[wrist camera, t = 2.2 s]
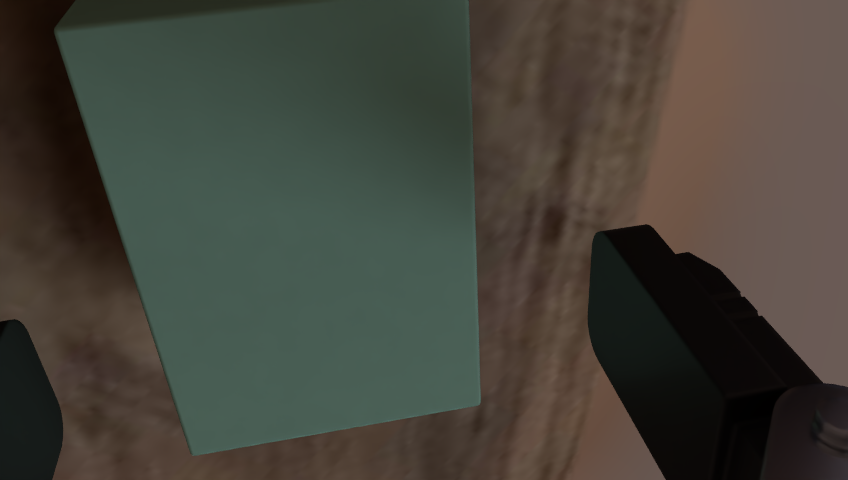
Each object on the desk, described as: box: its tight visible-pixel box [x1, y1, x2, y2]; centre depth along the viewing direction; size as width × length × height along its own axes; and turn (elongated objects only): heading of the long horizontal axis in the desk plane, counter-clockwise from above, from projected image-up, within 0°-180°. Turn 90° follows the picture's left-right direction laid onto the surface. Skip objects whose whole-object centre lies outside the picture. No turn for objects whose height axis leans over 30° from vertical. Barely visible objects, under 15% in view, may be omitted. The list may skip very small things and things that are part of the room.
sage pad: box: [54, 0, 481, 456], centre depth 14 cm, size 6×8×4 cm
